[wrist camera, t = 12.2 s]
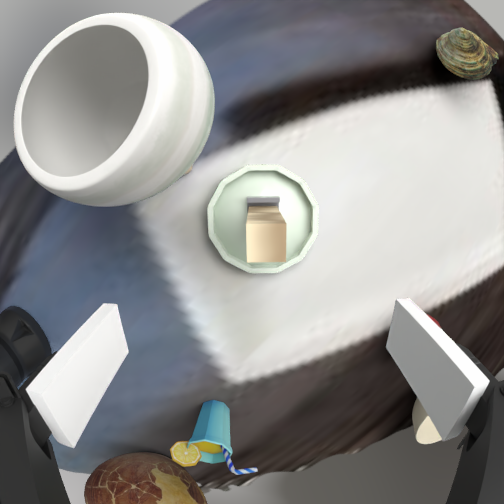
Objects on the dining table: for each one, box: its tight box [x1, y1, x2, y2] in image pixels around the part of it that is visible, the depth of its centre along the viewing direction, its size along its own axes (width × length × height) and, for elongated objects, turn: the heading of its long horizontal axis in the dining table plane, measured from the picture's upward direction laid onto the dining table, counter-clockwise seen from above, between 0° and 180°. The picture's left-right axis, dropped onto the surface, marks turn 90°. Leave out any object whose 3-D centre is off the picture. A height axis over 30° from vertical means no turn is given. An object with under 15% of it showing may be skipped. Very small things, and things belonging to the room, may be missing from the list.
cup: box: [170, 400, 257, 475], centre depth 41 cm, size 14×8×15 cm, turn 94°
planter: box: [14, 13, 215, 207], centre depth 24 cm, size 16×16×22 cm
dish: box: [207, 164, 319, 273], centre depth 37 cm, size 14×14×3 cm
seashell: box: [436, 28, 499, 80], centre depth 25 cm, size 11×11×10 cm
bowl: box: [412, 397, 442, 444], centre depth 43 cm, size 16×16×10 cm
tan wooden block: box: [246, 206, 287, 263], centre depth 31 cm, size 4×4×12 cm
